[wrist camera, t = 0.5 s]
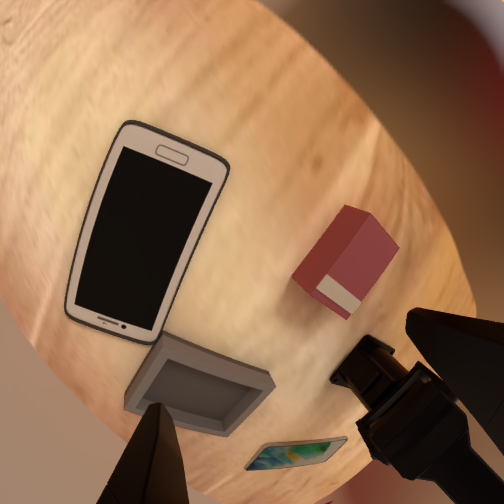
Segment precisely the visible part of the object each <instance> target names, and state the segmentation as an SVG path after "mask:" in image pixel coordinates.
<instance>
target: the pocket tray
mask: <svg viewBox="0 0 504 504" xmlns="http://www.w3.org/2000/svg"><path fill="white" fill-rule="evenodd" d="M275 387H276V385H275V383H274V381H273V379H272V378H271V376H270V374H269V372H268V371H265V370H262V369H259V368H257V367H254V366H251V365H248V364H245V363H242V362H240V361H237V360H234V359H231V358H229V357H226V356H223V355H221V354H218V353H216V352H213V351H211V350H208V349H206V348H203V347H201V346H198V345H196V344H193V343H191V342H189V341H186V340H184V339H182V338H179V337H177V336H175V335H172V334H170V333H168V332H166V331H163V330H162V332H161V334H160V337H159V338H158V340H157V342H156V343H154V344H153V346H152V348H151V349H150V351H149V353H148V354H147V356H146V358H145V359H144V361H143V363H142V364H141V366H140V368H139V369H138V371H137V373H136V374H135V376H134V378H133V380H132V381H131V383H130V385H129V386H128V388H127V390H126V391H125V396H124V410H126V411H129V412H132V413H135V414H137V415H140V416H143V415H144V413H145V411H146V409H147V407H148V405H149V404H151V403H156V402H162V403H163V404H164V406H165V407H166V409H167V410H168V412H169V414H170V415H171V417H172V419H173V422H174V426H177V427H181V428H185V429H189V430H193V431H198V432H202V433H207V434H212V435H217V436H222V437H228V436H229V435H230V434H231V433H232V432H233V431H234V430H235V429H236V428H237V427H238V426H239V425H240V424H241V423H242V422H243V421H244V420H245V419H246V418H247V417H248V416H249V415H250V414H251V413H252V412H253V411H254V410H255V409H256V408H257V407H258V406H259V405H260V404H261V402H262V401H263V400H264V399H265V398H266V397H267V396H268V395H269V394H270V393H271V392H272V391H273V389H274V388H275Z"/></svg>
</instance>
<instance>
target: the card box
mask: <svg viewBox="0 0 504 504" xmlns="http://www.w3.org/2000/svg"><path fill="white" fill-rule="evenodd" d="M398 250H399V247H398V245H397V244H396V243H395V242H394V240H393V239H392V238H391V237H390V235H389V234H388V233H387V232H386V231H385V229H384V228H383V227H382V226H381V225H380V223H379V222H378V221H377V220H376V219H375V218H374V216H373V215H372V214H371V213H369V212H366V211H363V210H360V209H357V208H354V207H351V206H348V205H344V207H343V208H342V209H341V211H340V212H339V213H338V215H337V216H336V218H335V219H334V220H333V222H332V223H331V224H330V226H329V227H328V228H327V230H326V231H325V232H324V234H323V235H322V236H321V238H320V239H319V240H318V242H317V243H316V244H315V246H314V247H313V248H312V250H311V251H310V252H309V254H308V255H307V256H306V257H305V259H304V260H303V261H302V263H301V264H300V265H299V267H298V268H297V269H296V270H295V272H294V273H293V274H292V275H291V277H292V278H293V279H294V280H295V281H296V282H298V283H299V284H300V285H301V286H302V287H303V288H304V289H305V290H306V291H307V292H308V293H309V294H310V295H311V296H312V297H314V298H315V299H317V300H318V301H320V302H321V303H322V304H324V305H325V306H327V307H328V308H330V309H331V310H333V311H334V312H335V313H337V314H338V315H340V316H341V317H343V318H344V319H346V320H347V319H348V318H349V316H350V315H351V314H353V313H354V312H355V310H356V309H357V308H358V306H359V305H360V304H361V303H362V302H361V301H362V300H363V299H364V297H365V296H366V295H367V293H368V292H369V291H370V289H371V288H372V287H373V285H374V284H375V283H376V281H377V280H378V278H379V277H380V276H381V274H382V273H383V272H384V270H385V269H386V267H387V266H388V264H389V263H390V262H391V260H392V259H393V257H394V256H395V254H396V253H397V251H398Z"/></svg>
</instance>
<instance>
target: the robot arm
mask: <svg viewBox="0 0 504 504" xmlns="http://www.w3.org/2000/svg"><path fill="white" fill-rule="evenodd" d="M405 330H406V333H407V335H408V337H409V338H410V339H411V341H412V342H413V343H414V345H415V346H416V348H417V349H418V350H419V352H420V353H421V354H422V356H423V357H424V359H425V360H426V361H427V362H428V364H429V365H430V366H431V367H432V368H433V369H434V371H435V372H436V373H437V374H438V375H439V376H440V377H441V378H439V377H438V376H437V375H436V374H434V373H433V372H432V371H431V370H429V369H428V368H427V367H426V366H424V365H423V364H422V363H421V362H420V361H417V362H416V364H415V366H414V367H413V368H412V369H411V370H410V371H408V370H407V369H406V368H405V367H403V366H402V365H401V364H400V363H399V362H398V361H397V360H396V359H395V358H394V357H393V356H392V355H393V354H394V352H395V349H394V348H392V347H391V346H389V345H387V344H385V343H384V342H382V341H380V340H378V339H376V338H375V337H373V336H371V335H369V334H368V335H366V336H365V337H364V338H363V339H362V340H361V342H360V343H359V344H358V345H357V347H356V348H355V349H354V350H353V352H352V353H351V354H350V355H349V356H348V358H347V359H346V360H345V361H344V362H343V364H342V365H341V366H340V367H339V368H338V369H337V371H336V372H335V373H334V374H333V375H332V376H331V378H330V381H331V383H332V384H336V385H339V386H343V387H347V388H350V389H351V390H352V392H353V393H354V394H355V395H356V397H357V398H358V399H359V400H360V402H361V403H362V404H363V405H364V407H365V408H366V409H367V410H368V413H367V414H366V415H365V416H364V417H362V418H361V419H359V420H358V421H357V422H355V423H356V425H357V427H358V431H359V432H360V434H361V436H362V438H363V440H364V442H365V443H366V445H367V447H368V449H369V452H370V455H371V457H372V459H373V460H379V461H381V462H382V463H383V464H385V465H388V466H390V465H392V466H393V467H394V468H395V469H396V470H397V471H398V472H399V473H400V475H401V476H402V477H403V478H406V479H409V480H415V479H421V480H427V481H433V482H435V483H436V484H437V485H438V486H439V487H440V488H441V489H442V490H443V491H444V492H445V494H446V495H447V496H448V497H449V498H450V499H451V500H452V501H453V502H454V503H455V504H504V481H503V480H502V479H501V477H500V476H498V474H497V473H496V472H495V471H494V470H493V469H492V468H491V467H490V466H489V465H488V464H487V463H486V462H485V461H484V460H483V459H482V458H481V457H480V456H479V455H478V454H477V453H476V452H475V451H474V449H473V448H472V447H471V443H470V435H469V428H468V421H467V416H466V414H465V413H464V412H463V411H462V410H461V409H460V408H459V407H458V406H457V405H456V404H455V403H456V402H457V401H458V400H460V401H461V402H462V403H463V404H464V406H465V407H466V408H467V409H468V410H469V412H470V413H471V414H472V415H473V417H474V418H475V419H476V420H477V422H478V423H479V424H480V425H481V427H482V428H483V429H484V431H485V432H486V433H487V434H488V436H489V437H490V438H491V440H492V441H493V442H494V444H495V445H496V446H497V447H498V449H499V450H500V451H501V453H502V454H503V456H504V323H500V322H494V321H489V320H482V319H477V318H472V317H466V316H461V315H455V314H450V313H445V312H439V311H434V310H429V309H424V308H418V307H416V308H414V309H412V310H410V311H409V312H408V313H407V318H406V327H405ZM107 484H108V485H106V486H105V488H104V490H103V492H102V494H101V496H100V498H99V500H98V501H97V503H96V504H189V499H188V492H187V486H186V479H185V472H184V465H183V459H182V455H181V451H180V447H179V443H178V439H177V435H176V430H175V426H174V422H173V419H172V417H171V415H170V414H169V412H168V410H167V409H166V407H165V406H164V404H163V403H162V402H156V403H151V404H149V405H148V407H147V409H146V411H145V413H144V415H143V416H142V418H141V420H140V422H139V424H138V426H137V428H136V429H135V431H134V433H133V435H132V437H131V439H130V441H129V443H128V444H127V446H126V448H125V450H124V452H123V454H122V456H121V458H120V460H119V462H118V463H117V465H116V467H115V469H114V471H113V473H112V475H111V477H110V479H109V481H108V482H107Z"/></svg>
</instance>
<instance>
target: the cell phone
mask: <svg viewBox="0 0 504 504" xmlns="http://www.w3.org/2000/svg"><path fill="white" fill-rule="evenodd" d="M139 125H140V126H139ZM229 171H230V165H229V163H228V162H227V161H226V160H225V159H224V158H223V157H221V156H219V155H217V154H215V153H213V152H211V151H209V150H207V149H205V148H202V147H200V146H198V145H196V144H194V143H191V142H189V141H187V140H184V139H182V138H180V137H177V136H175V135H173V134H170V133H168V132H166V131H163V130H161V129H158V128H156V127H153V126H151V125H148V124H146V123H143V122H140V121H136V120H128V121H125V122H124V123H123V124H122V126H121V127H120V128H119V130H118V132H117V134H116V136H115V138H114V140H113V142H112V144H111V147H110V149H109V151H108V154H107V156H106V159H105V161H104V163H103V166H102V169H101V171H100V174H99V176H98V179H97V182H96V184H95V187H94V190H93V193H92V196H91V199H90V202H89V205H88V208H87V211H86V214H85V217H84V221H83V224H82V227H81V231H80V234H79V238H78V242H77V245H76V249H75V253H74V257H73V262H72V266H71V270H70V275H69V280H68V285H67V290H66V295H65V303H64V310H65V314H66V315H67V316H68V317H69V318H70V319H72V320H74V321H76V322H78V323H81V324H83V325H86V326H89V327H91V328H94V329H97V330H100V331H103V332H106V333H108V334H111V335H114V336H117V337H120V338H124V339H127V340H130V341H133V342H136V343H140V344H144V345H153V344H154V343H156V342H157V340H158V338H159V337H160V334H161V332H162V330H163V327H164V325H165V322H166V319H167V317H168V314H169V312H170V309H171V307H172V304H173V302H174V299H175V297H176V294H177V292H178V289H179V287H180V284H181V282H182V280H183V277H184V275H185V272H186V270H187V268H188V265H189V263H190V261H191V258H192V256H193V254H194V251H195V249H196V247H197V244H198V242H199V240H200V237H201V235H202V233H203V231H204V228H205V226H206V224H207V222H208V220H209V217H210V215H211V213H212V211H213V209H214V206H215V204H216V202H217V200H218V198H219V196H220V193H221V191H222V189H223V187H224V185H225V183H226V180H227V178H228V175H229ZM85 220H86V221H85ZM79 241H80V242H79ZM78 244H79V245H78ZM77 248H78V249H77ZM174 294H175V295H174ZM173 296H174V297H173ZM172 299H173V300H172ZM66 301H67V303H66ZM170 304H171V305H170ZM168 309H169V310H168ZM167 312H168V313H167ZM166 314H167V315H166ZM165 317H166V318H165Z"/></svg>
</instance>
